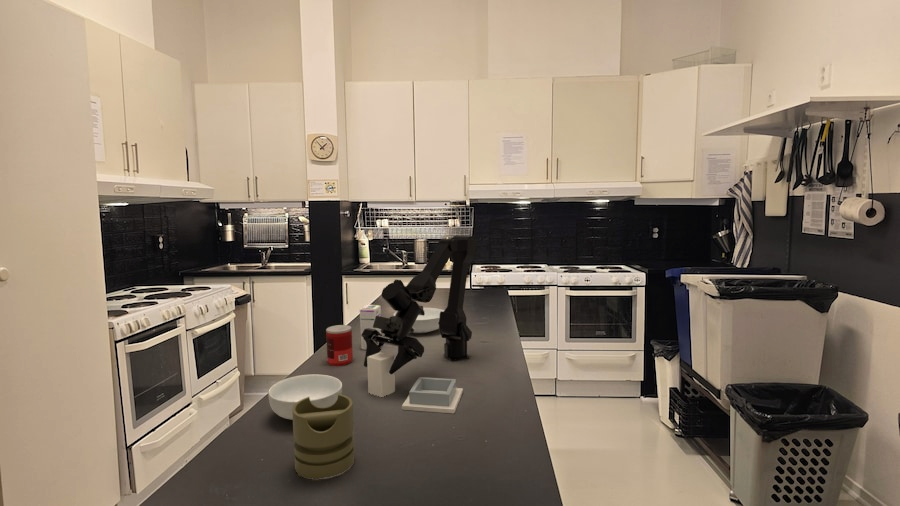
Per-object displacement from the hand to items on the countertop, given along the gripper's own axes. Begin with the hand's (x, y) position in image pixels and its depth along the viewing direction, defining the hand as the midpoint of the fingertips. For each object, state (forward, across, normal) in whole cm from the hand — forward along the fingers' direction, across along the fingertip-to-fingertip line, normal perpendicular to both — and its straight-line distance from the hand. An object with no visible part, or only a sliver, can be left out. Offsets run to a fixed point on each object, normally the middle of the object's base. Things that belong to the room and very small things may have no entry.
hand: (377, 369), depth 128 cm
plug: (+4, 0, +6) cm, 7 cm away
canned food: (-3, -28, +13) cm, 31 cm away
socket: (+1, +15, +8) cm, 17 cm away
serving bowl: (-33, -30, +43) cm, 62 cm away
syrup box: (-15, -30, +24) cm, 41 cm away
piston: (+26, +15, -17) cm, 35 cm away
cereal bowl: (+18, -6, -8) cm, 20 cm away
